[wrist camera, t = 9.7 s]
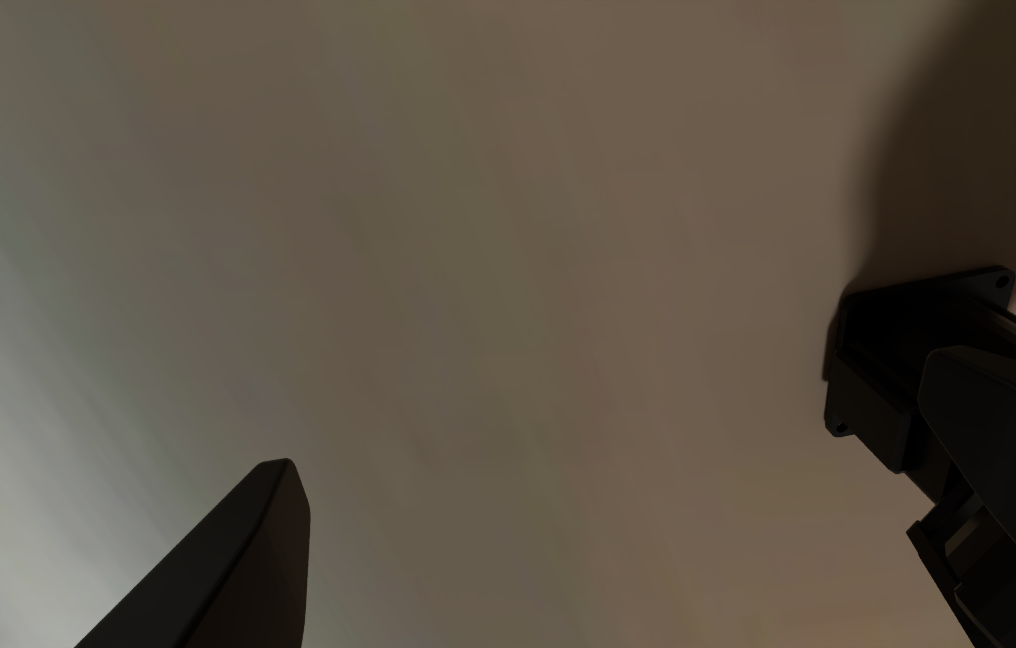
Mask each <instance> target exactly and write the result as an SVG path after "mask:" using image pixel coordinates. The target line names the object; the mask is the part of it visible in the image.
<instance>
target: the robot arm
mask: <svg viewBox="0 0 1016 648" xmlns="http://www.w3.org/2000/svg"><path fill="white" fill-rule="evenodd" d="M998 279H999V280H998ZM997 280H998V281H997ZM1014 282H1015V273H1014V271H1012V270H1010V269H1008V268H1006V267H1004V266H1002V265H997V266H991V267H986V268H981V269H976V270H971V271H966V272H961V273H956V274H951V275H945V276H940V277H935V278H930V279H925V280H920V281H915V282H910V283H905V284H899V285H894V286H889V287H884V288H879V289H874V290H869V291H864V292H859V293H854V294H852V295H850V296H848V297H847V298H846V299H845V300H844V302H843V303H842V306H841V311H840V318H839V325H838V333H837V340H836V347H835V353H834V355H833V360H832V367H831V375H830V382H829V390H828V397H827V414H826V421H825V427H826V429H827V430H828V431H829V432H830V433H831V434H832V435H833V436H834V437H844V436H849V435H854V434H855V435H856V436H857V437H858V438H859V439H860V440H861V441H862V442H863V443H864V444H865V446H866V447H867V448H868V449H869V450H870V451H871V452H872V453H873V454H874V455H875V456H876V457H877V458H878V459H879V460H880V461H881V462H882V463H883V464H884V465H885V466H886V467H887V468H888V469H889V470H890V471H892V472H893V473H895V474H901V473H905V474H906V475H907V476H908V477H909V478H910V479H911V480H912V481H913V482H914V483H915V484H916V485H917V486H918V487H919V488H920V490H921V491H922V492H923V493H924V494H925V495H926V496H927V497H928V498H929V499H930V500H931V501H932V502H933V503H934V504H935V506H934V507H933V508H932V509H931V510H930V511H929V512H928V514H927V515H926V516H925V517H924V518H923V519H922V520H921V521H918V520H917V521H916V522H915V523H914V524H913V525H912V526H911V527H910V528H909V529H908V530H907V531H906V534H907V535H908V537H909V539H910V540H911V542H912V544H913V545H914V547H915V549H916V550H917V552H918V555H919V557H920V559H921V560H922V562H923V564H924V565H925V567H926V569H927V570H928V572H929V573H930V575H931V577H932V578H933V580H934V582H935V583H936V585H937V587H938V588H939V590H940V591H941V593H942V595H943V596H944V598H945V600H946V601H947V603H948V605H949V606H950V608H951V609H952V611H953V613H954V614H955V616H956V618H957V619H958V621H959V623H960V624H961V626H962V628H963V629H964V631H965V632H966V634H967V636H968V637H969V639H970V641H971V642H972V644H973V646H974V647H975V648H1016V315H1015V314H1013V313H1011V312H1009V311H1008V310H1007V306H1008V303H1009V299H1010V296H1011V292H1012V289H1013V285H1014ZM858 305H860V306H859V308H858V309H857V310H854V309H855V308H856V307H857V306H858ZM839 424H840V425H839ZM310 520H311V517H310V507H309V502H308V499H307V497H306V494H305V491H304V488H303V485H302V483H301V480H300V477H299V474H298V471H297V469H296V466H295V464H294V463H293V461H292V460H290V459H288V458H283V459H277V460H271V461H265V462H261V463H259V464H258V465H257V466H255V467H254V468H253V469H252V470H251V471H250V472H249V473H248V474H247V475H246V476H245V477H244V478H243V479H242V480H241V481H240V482H239V483H238V484H237V485H236V486H235V487H234V488H233V489H232V490H231V491H230V492H229V493H228V494H227V495H226V496H225V497H224V498H223V499H222V500H221V501H220V502H219V503H218V504H217V505H216V506H215V507H214V508H213V509H212V510H211V511H210V512H209V513H208V514H207V515H206V516H205V517H204V518H203V519H202V520H201V521H200V522H199V523H198V524H197V525H196V526H195V527H194V528H193V529H192V530H191V531H190V532H189V533H188V534H187V535H186V536H185V537H184V538H183V539H182V540H181V541H180V542H179V543H178V544H177V545H176V546H175V547H174V548H173V549H172V550H171V551H170V552H169V553H168V554H167V555H166V556H165V557H164V558H163V559H162V560H161V561H160V562H159V563H158V564H157V565H156V566H155V567H154V568H153V569H152V570H151V571H150V572H149V573H148V574H147V575H146V576H145V577H144V578H143V579H142V580H141V581H140V582H139V583H138V584H137V585H136V586H135V587H134V588H133V589H132V590H131V591H130V592H129V593H128V594H127V595H126V596H125V597H124V598H123V599H122V600H121V601H120V602H119V603H118V604H117V605H116V606H115V607H114V608H113V609H112V610H111V611H110V612H109V613H108V614H107V615H106V616H105V617H104V618H103V619H102V620H101V621H100V622H99V623H98V624H97V625H96V626H95V627H94V628H93V629H92V630H91V631H90V632H89V633H88V634H87V635H86V636H85V637H84V638H83V639H82V640H81V641H80V642H79V643H78V644H77V645H76V646H75V647H74V648H301V646H302V639H303V632H304V625H305V613H306V596H307V577H308V559H309V540H310Z"/></svg>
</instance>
